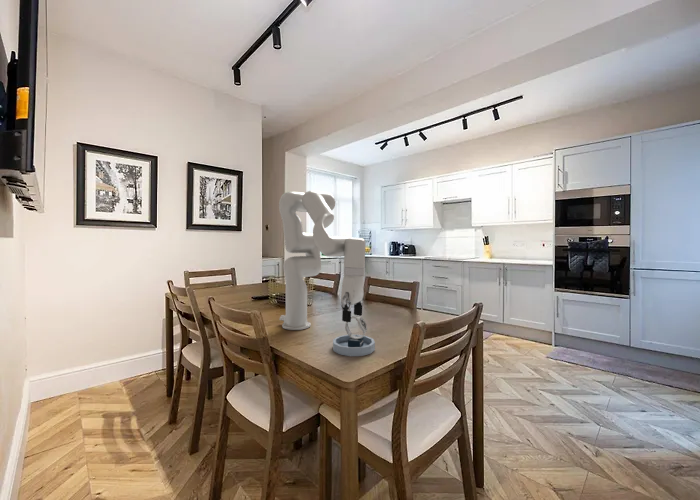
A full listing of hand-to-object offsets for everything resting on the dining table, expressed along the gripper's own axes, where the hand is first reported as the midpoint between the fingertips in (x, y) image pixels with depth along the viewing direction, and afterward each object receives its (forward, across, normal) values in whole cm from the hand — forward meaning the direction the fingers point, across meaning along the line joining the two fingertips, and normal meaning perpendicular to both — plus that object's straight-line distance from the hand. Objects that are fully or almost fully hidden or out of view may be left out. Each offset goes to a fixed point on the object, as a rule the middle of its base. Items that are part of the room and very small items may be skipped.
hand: (352, 318), depth 119 cm
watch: (+10, 0, +2) cm, 11 cm away
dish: (+11, 0, +1) cm, 11 cm away
